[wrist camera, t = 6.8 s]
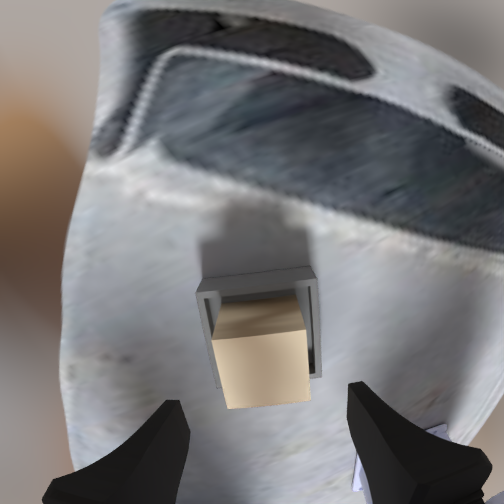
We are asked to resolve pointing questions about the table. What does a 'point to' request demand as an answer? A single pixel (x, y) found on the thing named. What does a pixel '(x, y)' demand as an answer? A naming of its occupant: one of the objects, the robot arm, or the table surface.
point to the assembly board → (263, 287)
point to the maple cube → (262, 352)
